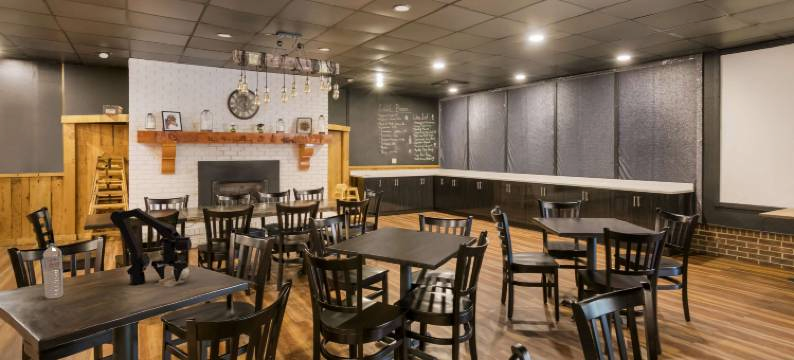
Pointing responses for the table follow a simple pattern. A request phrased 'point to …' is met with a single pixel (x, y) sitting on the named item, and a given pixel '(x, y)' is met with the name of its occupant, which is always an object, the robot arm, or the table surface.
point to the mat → (172, 284)
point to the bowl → (182, 273)
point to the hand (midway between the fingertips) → (169, 280)
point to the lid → (168, 281)
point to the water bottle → (53, 272)
